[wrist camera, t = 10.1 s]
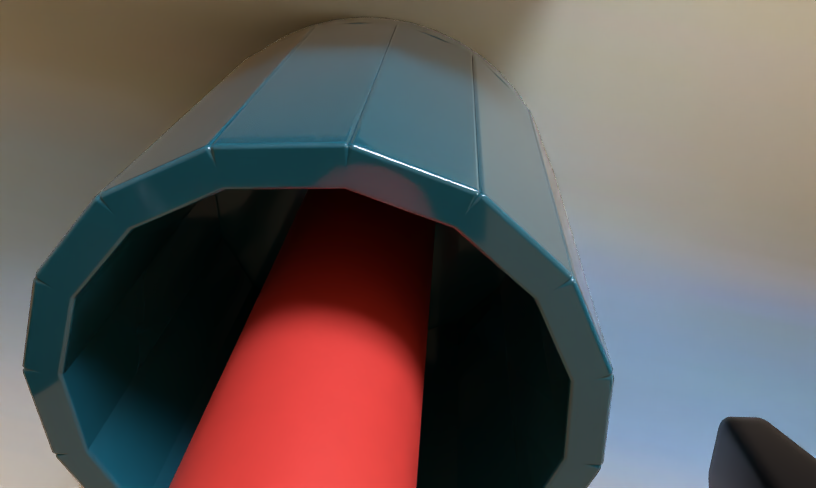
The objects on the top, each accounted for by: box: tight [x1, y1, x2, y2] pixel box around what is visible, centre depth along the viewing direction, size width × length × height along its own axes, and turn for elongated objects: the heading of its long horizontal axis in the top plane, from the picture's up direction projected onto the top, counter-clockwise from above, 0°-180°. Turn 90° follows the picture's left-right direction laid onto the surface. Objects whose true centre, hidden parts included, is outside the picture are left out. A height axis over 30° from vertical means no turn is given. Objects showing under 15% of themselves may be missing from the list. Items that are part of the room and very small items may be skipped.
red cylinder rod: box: [169, 189, 435, 488], centre depth 9 cm, size 2×2×11 cm
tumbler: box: [23, 17, 614, 488], centre depth 11 cm, size 7×7×6 cm
